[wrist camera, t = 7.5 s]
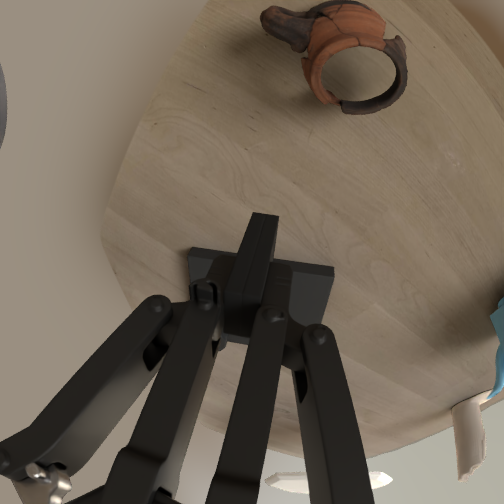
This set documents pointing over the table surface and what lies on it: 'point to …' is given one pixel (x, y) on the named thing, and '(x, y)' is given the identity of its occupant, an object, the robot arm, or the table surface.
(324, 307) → the scale
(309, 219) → the table surface
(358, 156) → the table surface
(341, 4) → the pottery mug
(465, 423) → the candle
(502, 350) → the teapot
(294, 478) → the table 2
